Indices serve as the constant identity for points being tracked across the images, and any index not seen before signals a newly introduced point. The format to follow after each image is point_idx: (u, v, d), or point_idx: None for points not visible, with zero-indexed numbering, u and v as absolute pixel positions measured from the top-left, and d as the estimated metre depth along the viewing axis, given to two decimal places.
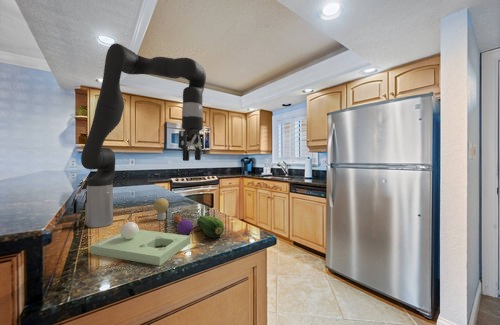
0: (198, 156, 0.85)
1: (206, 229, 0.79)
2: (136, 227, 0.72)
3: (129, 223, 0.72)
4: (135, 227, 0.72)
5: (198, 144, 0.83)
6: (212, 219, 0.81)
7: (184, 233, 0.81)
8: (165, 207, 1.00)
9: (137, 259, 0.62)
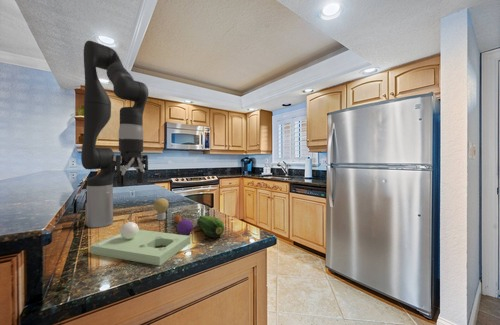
0: (140, 179, 0.80)
1: (206, 229, 0.79)
2: (136, 227, 0.72)
3: (129, 223, 0.72)
4: (135, 227, 0.72)
5: (139, 166, 0.78)
6: (212, 219, 0.81)
7: (184, 233, 0.81)
8: (165, 207, 1.00)
9: (137, 259, 0.62)
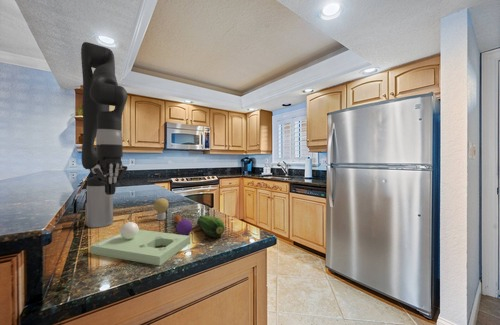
0: None
1: (207, 229, 0.79)
2: (136, 227, 0.72)
3: (129, 223, 0.72)
4: (135, 227, 0.72)
5: None
6: (213, 219, 0.81)
7: (183, 233, 0.81)
8: (165, 207, 1.00)
9: (137, 259, 0.62)
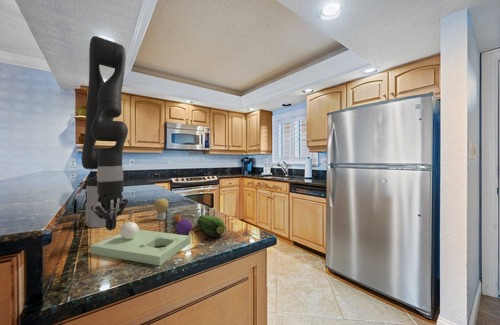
0: None
1: (207, 228, 0.80)
2: (136, 227, 0.72)
3: (129, 223, 0.72)
4: (135, 227, 0.72)
5: (114, 209, 0.74)
6: (213, 219, 0.81)
7: (183, 233, 0.81)
8: (165, 207, 1.00)
9: (137, 259, 0.62)
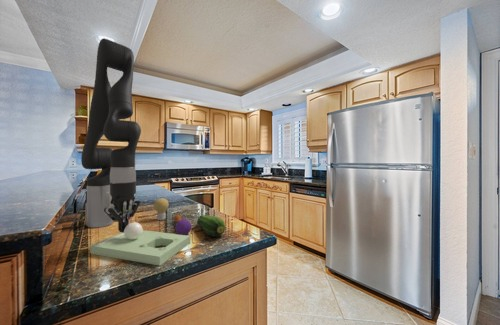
0: (124, 227, 0.73)
1: (208, 228, 0.80)
2: (141, 231, 0.72)
3: (136, 225, 0.71)
4: (140, 231, 0.72)
5: (127, 211, 0.73)
6: (213, 218, 0.82)
7: (182, 233, 0.81)
8: (165, 207, 1.00)
9: (137, 259, 0.62)
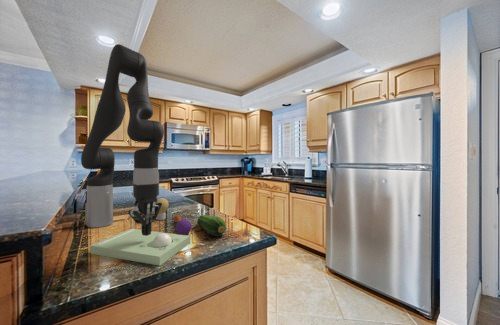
0: None
1: (209, 228, 0.80)
2: (159, 234, 0.70)
3: None
4: None
5: (150, 213, 0.70)
6: (214, 218, 0.82)
7: (183, 233, 0.82)
8: (165, 207, 1.00)
9: (137, 259, 0.62)
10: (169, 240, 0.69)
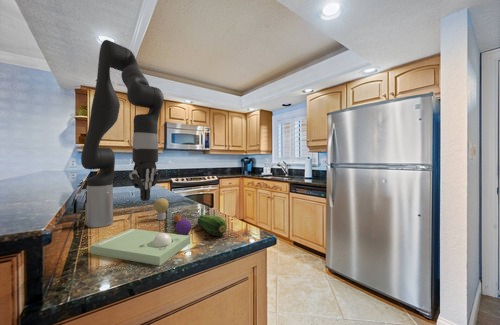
0: None
1: (210, 228, 0.81)
2: (159, 234, 0.70)
3: None
4: None
5: (149, 179, 0.71)
6: (215, 218, 0.83)
7: (182, 233, 0.82)
8: (165, 207, 1.00)
9: (137, 259, 0.62)
10: (169, 240, 0.69)
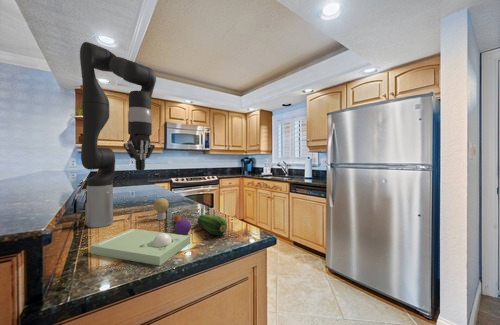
0: None
1: (210, 227, 0.81)
2: (159, 234, 0.70)
3: None
4: None
5: None
6: (215, 217, 0.83)
7: (182, 233, 0.82)
8: (165, 207, 1.00)
9: (137, 259, 0.62)
10: (169, 240, 0.69)
